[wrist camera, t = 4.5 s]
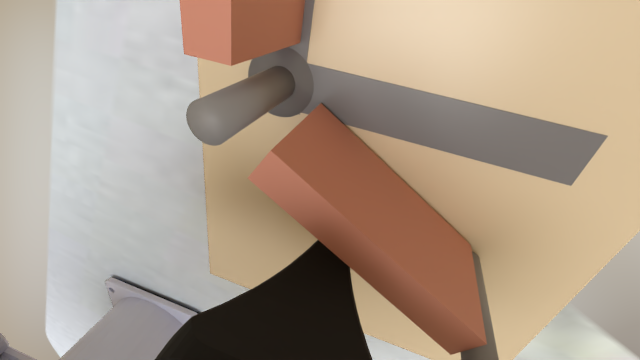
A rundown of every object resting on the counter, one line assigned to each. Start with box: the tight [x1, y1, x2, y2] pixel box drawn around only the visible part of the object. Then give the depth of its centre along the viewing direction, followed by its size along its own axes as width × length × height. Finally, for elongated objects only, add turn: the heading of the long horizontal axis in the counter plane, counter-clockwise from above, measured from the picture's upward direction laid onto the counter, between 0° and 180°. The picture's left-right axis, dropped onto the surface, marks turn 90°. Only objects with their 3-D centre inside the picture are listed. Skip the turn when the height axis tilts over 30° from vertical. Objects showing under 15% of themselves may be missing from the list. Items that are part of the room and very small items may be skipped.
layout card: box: [197, 0, 640, 360], centre depth 12 cm, size 19×16×1 cm
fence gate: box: [248, 103, 499, 360], centre depth 10 cm, size 9×1×4 cm, turn 50°
